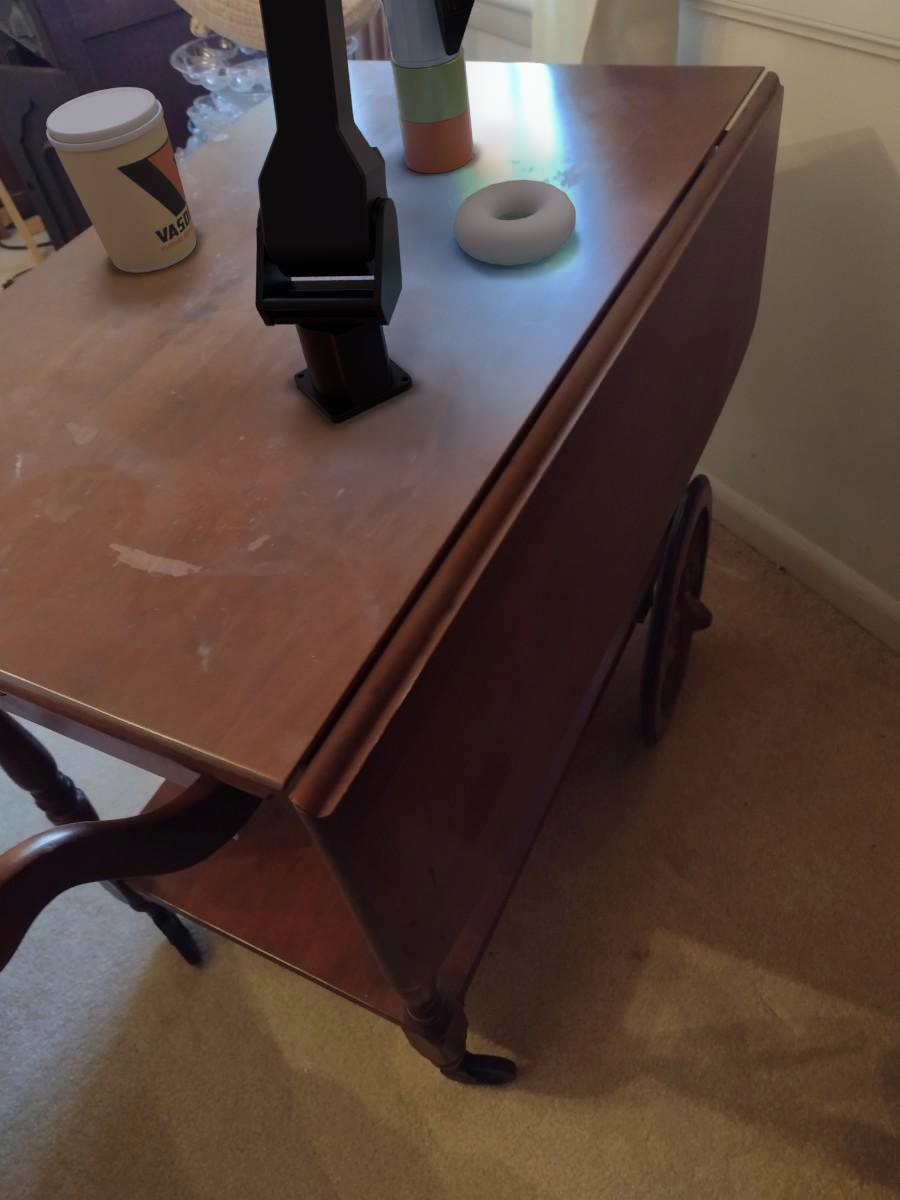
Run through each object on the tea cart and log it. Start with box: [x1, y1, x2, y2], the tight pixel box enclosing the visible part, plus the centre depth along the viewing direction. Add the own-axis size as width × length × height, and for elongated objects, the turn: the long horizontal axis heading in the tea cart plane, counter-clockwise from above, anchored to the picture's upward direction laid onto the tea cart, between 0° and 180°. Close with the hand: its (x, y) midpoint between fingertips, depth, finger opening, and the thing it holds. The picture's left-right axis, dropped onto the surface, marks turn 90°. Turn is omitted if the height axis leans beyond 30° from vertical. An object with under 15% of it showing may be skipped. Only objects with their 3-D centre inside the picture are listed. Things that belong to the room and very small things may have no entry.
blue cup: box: [382, 0, 459, 68], centre depth 78 cm, size 6×6×6 cm
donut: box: [453, 179, 577, 266], centre depth 74 cm, size 10×4×10 cm
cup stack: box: [389, 44, 475, 174], centre depth 84 cm, size 7×7×9 cm
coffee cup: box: [45, 86, 197, 274], centre depth 77 cm, size 9×9×12 cm
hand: (425, 42), depth 80 cm, fingers open, 8 cm apart
